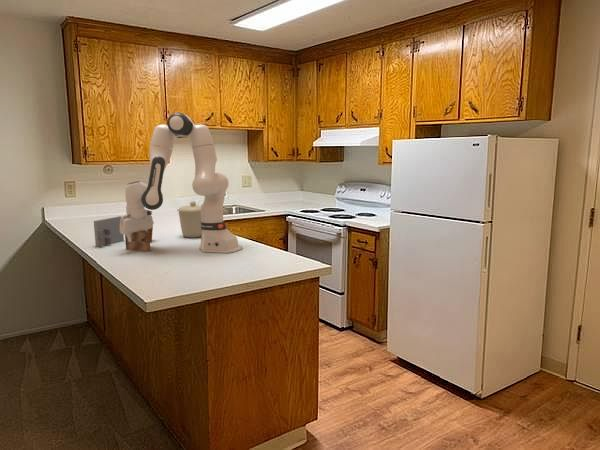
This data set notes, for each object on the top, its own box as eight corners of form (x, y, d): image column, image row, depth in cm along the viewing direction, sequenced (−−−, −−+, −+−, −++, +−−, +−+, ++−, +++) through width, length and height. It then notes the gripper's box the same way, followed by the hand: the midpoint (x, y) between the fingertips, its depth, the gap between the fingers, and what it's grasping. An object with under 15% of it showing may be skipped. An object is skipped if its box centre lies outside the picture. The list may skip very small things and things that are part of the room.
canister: (202, 239, 257) (200, 203, 253) (173, 238, 261) (171, 202, 257) (214, 234, 274) (213, 199, 271) (186, 233, 278) (185, 199, 274)
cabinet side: (128, 241, 254) (126, 216, 252) (103, 247, 238) (101, 221, 235) (121, 240, 256) (119, 216, 254) (95, 246, 240) (93, 220, 237)
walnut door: (150, 250, 231) (149, 231, 229) (145, 252, 227) (144, 232, 225) (129, 248, 236) (128, 229, 234) (124, 249, 233) (122, 230, 231)
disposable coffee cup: (136, 243, 247) (134, 222, 245) (137, 240, 256) (136, 219, 254) (154, 242, 250) (153, 221, 248) (155, 239, 259) (153, 218, 257)
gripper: (125, 216, 218) (127, 244, 221) (154, 211, 237) (155, 236, 239) (115, 215, 221) (117, 243, 223) (144, 210, 239) (146, 235, 242)
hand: (137, 239), depth 231 cm, fingers open, 8 cm apart
